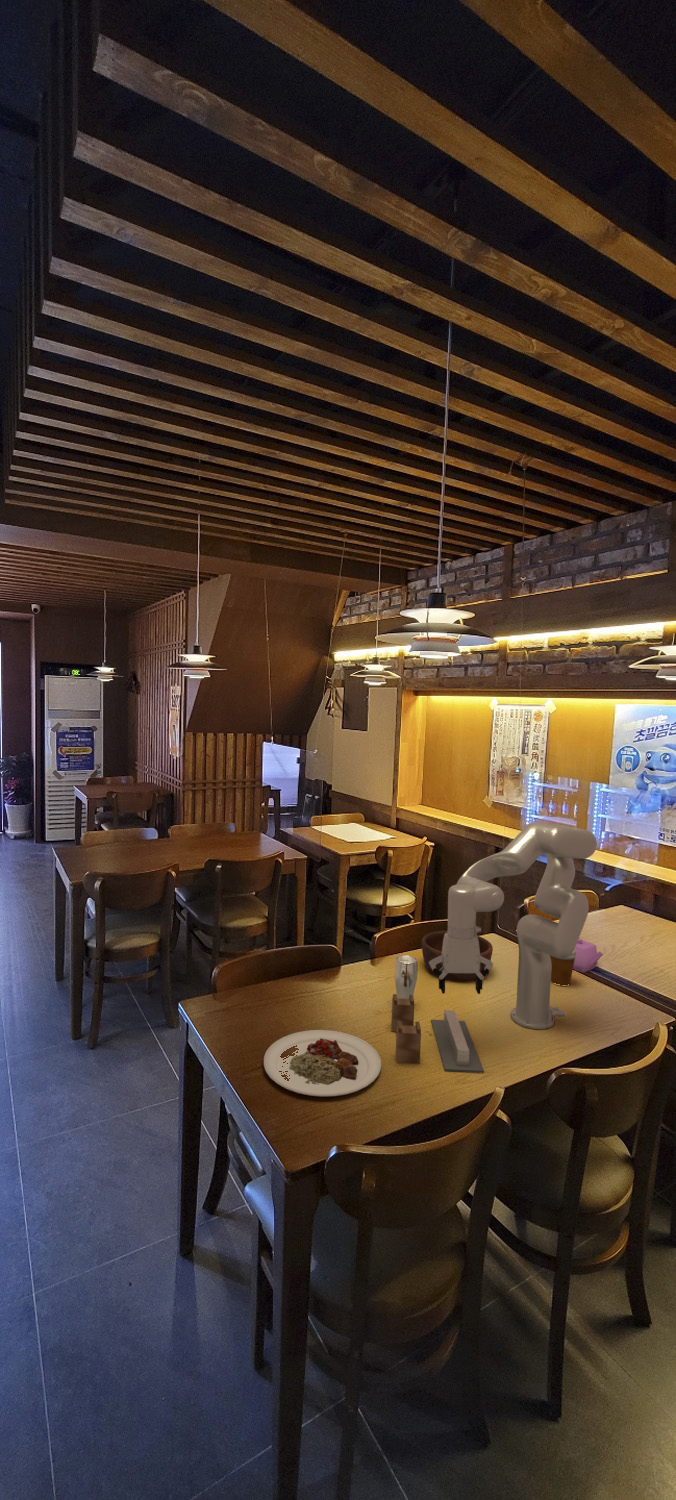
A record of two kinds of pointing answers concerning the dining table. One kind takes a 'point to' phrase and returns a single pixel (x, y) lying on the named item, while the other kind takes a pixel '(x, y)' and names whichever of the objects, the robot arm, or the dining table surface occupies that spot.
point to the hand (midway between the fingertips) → (460, 991)
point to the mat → (447, 1051)
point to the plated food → (323, 1063)
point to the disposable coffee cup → (562, 969)
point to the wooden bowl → (434, 949)
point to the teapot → (586, 956)
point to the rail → (456, 1038)
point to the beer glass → (405, 976)
